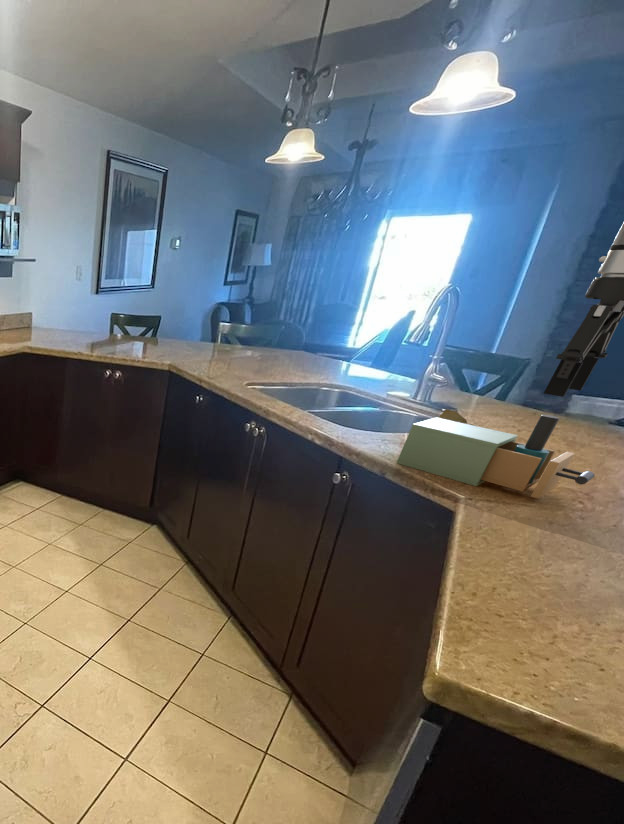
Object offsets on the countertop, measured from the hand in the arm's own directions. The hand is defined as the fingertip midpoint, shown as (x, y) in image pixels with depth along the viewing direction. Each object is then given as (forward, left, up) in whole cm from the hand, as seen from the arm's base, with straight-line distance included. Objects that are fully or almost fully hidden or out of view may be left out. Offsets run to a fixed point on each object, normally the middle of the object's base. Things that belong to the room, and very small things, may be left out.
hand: (562, 392), depth 97 cm
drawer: (-1, 0, -20) cm, 20 cm away
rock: (+17, -20, -21) cm, 34 cm away
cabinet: (+11, 0, -21) cm, 24 cm away
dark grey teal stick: (0, 0, -19) cm, 19 cm away
